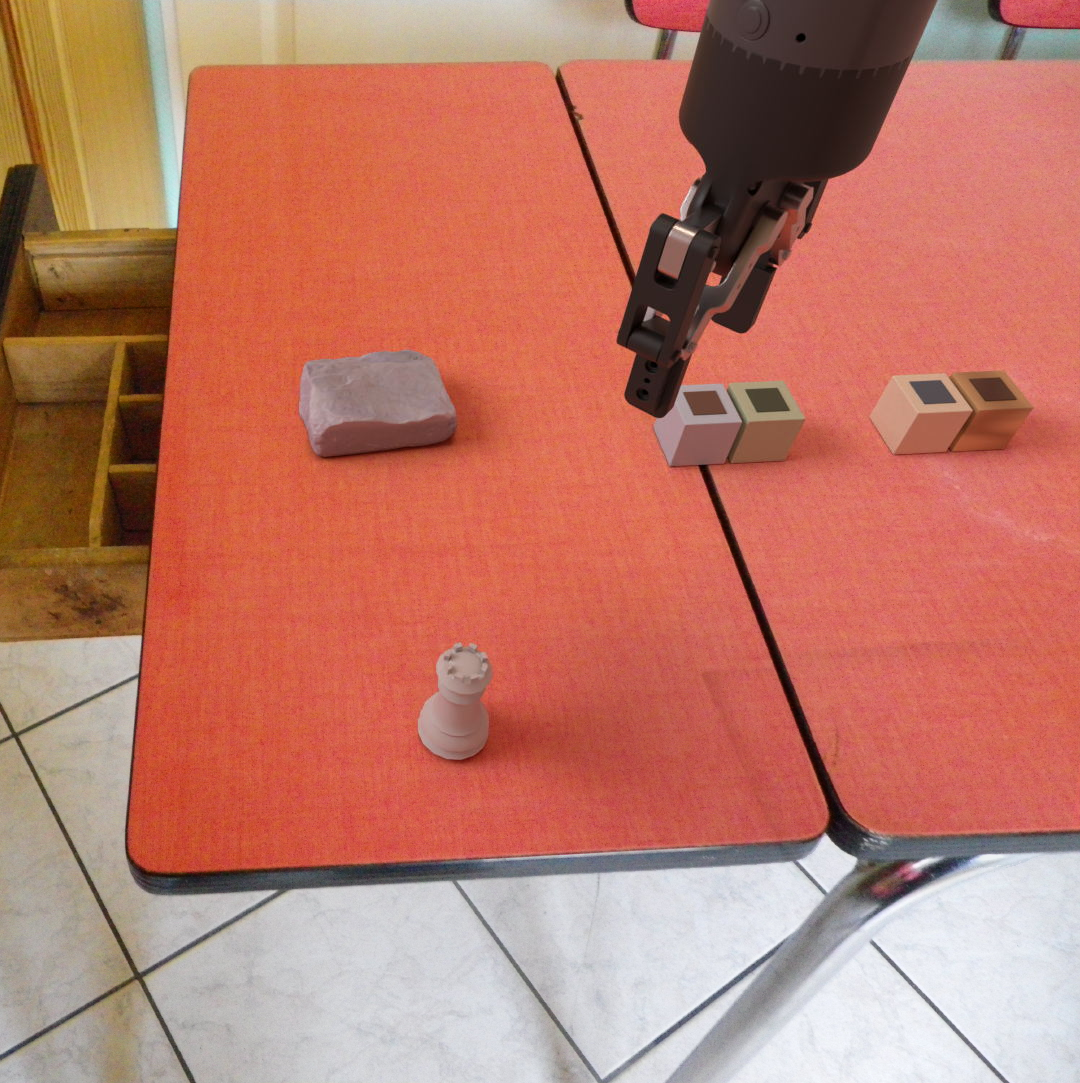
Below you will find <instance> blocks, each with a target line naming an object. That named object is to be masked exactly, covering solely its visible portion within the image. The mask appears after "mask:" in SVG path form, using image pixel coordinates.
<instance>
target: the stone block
mask: <svg viewBox="0 0 1080 1083" xmlns="http://www.w3.org/2000/svg"><path fill="white" fill-rule="evenodd" d="M298 414H299V416H300V418H301V419H302V422H303V423H304V426H305V428H306V430H307V432H308V433H307V434H308V439H309V443H310V445H311V450H313V452H314V454H315V455H316V456H319V457H323V458H326V457H336V456H337V457H339V456H344V455H345V456H346V455H355V454H363V453H364V454H365V453H371V452H377V451H378V452H379V451H389V450H396V449H399V448H405V447H406V448H407V447H422V446H429V445H434V444H439V443H442V442H445V441H447V440H449V438H450V437H451V436H452V435H453V434H455V433H456V430H457V428H458V416H457V411H456V408H455V405H454V404H453V402H452V401H451V397H450V394H449V393H448V392H447V390H446V387H445V385H444V382H443V379H442V376H441V372H440V370H439V368H438V366H437V364H436V361H434V360H433V358H432V357H431V356H429V355H423V353H422V352H419V351H415V350H412V349H402V350H398V351H389V350H382V351H381V350H380V351H373V352H369V353H365V354H363V355H361V356H346V357H339V358H336V359H335V358H321V359H313V360H307V361H306V362H305V364H304V365H303V368H302V373H301V376H300V384H299V402H298Z"/></svg>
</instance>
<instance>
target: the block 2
mask: <svg viewBox="0 0 1080 1083" xmlns="http://www.w3.org/2000/svg"><path fill="white" fill-rule="evenodd" d="M726 391H727V393H728V395H729V397H730V399H731V401H732V403H733V405H734V407H735V409H736V411H737V413H738V414H739V416H740V418H741V420H742V424H741V426H740V428H739V431H738V433H737V435H736V438H735V440H734V442H733V445H732V447H731V449H730V451H729V454H728V456H727V458H728V461H729V463H730V464H744V463H745V464H747V463H762V462H763V463H765V462H782V461H786V460H787V457H788V456H789V453H790V451H791V449H792V448H793V445H794V444H795V441H796V439H797V437H798V435H799V433H800V432H801V429H802V427H803V425H804V424H805V421H806V417H805V414H804V413H803V411H802V410H801V408H800V406H799V404H798V403H797V401H796V399H795V398H794V396H793V394H792V392H791V390H790V389H789V387H788V385H787V383H786V382H785V380H766V381H765V380H764V381H762V380H761V381H740V382H739V381H738V382H729V383H728V385H727V388H726Z"/></svg>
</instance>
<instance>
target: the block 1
mask: <svg viewBox="0 0 1080 1083" xmlns="http://www.w3.org/2000/svg"><path fill="white" fill-rule="evenodd" d="M726 390H727V388H726V387H725V385H724V384H723V383H722V382H720V383H719V382H718V383H700V384H698V383H697V384H681V387H680V390H679V393H678V395H677V398H676V401H675V404H674V407H673V408H672V409H671V410H670V411H669V412H668V413H667V415H666V416H664V417H663V418H656V419H655V422H654V424H653V430H654V433H655V436H656V437H657V440H658V442H659V444H660V447H661V449H662V451H663V454H664V457H665V458H666V461H667V464H668V466H669V467H685V466H686V467H687V466H705V465H722V464H725V463H726V461H727V458H728V454H729V451H730V449H731V447H732V445H733V442H734V440H735V438H736V435H737V433H738V431H739V428H740V426H741V424H742V420H741V418H740V416H739V414H738V413H737V411H736V409H735V407H734V405H733V403H732V401H731V399H730V397H729V395H728V393H727V391H726Z"/></svg>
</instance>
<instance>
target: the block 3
mask: <svg viewBox="0 0 1080 1083" xmlns="http://www.w3.org/2000/svg"><path fill="white" fill-rule="evenodd" d="M949 377H950V376H948V374H947V373H946V372H941V373H939V372H937V373H918V374H898V375H897V374H895V375H894V374H893V375H891V377H890V379H889V381H888V383H887V385H886V387H885V388H884V390H883V391H882V393H881V395H880V397H879V399H878V401H877V402H876V404H875V406H874V408H873V410H872V411H871V413H870V415H869V419H870V421H871V423H872V424H873V425H874V427H875V429H876V430H877V432H878V433H879V436H880V437H881V438H882V439H883V441H884V443H885V444H886V446H887V447H888V449H889V451H890V452H891V454H892V455H894V456H895V455H911V454H914V455H915V454H928V453H929V454H935V453H946V452H947V451H948V450H949V446H950V444H951V443H952V441H953V440H954V438H955V437H956V435H957V434H958V432H959V431H960V429H961V428H962V426H963V425H964V423H965V422H966V420H967V419H968V417H969V416H970V414H971V413H972V411H973V410H972V409H971V407H970V406H969V404H968V403H967V402H966V400H965V399H964V398H963V396H962V395H961V394H960V392H959V391H958V390H957V388H956V387H955V386H954V384H953V383H952V381H951V380H950V379H949Z"/></svg>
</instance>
